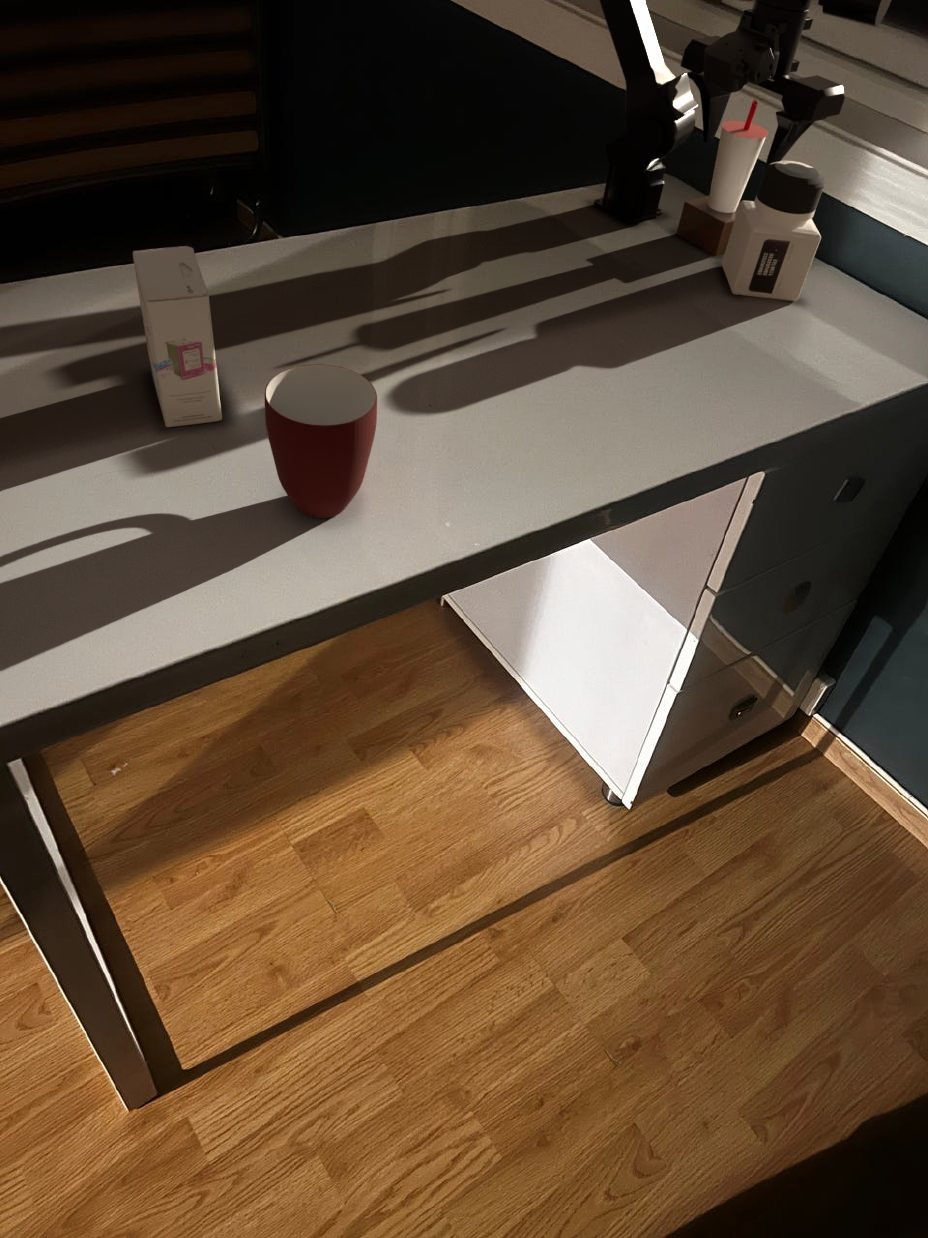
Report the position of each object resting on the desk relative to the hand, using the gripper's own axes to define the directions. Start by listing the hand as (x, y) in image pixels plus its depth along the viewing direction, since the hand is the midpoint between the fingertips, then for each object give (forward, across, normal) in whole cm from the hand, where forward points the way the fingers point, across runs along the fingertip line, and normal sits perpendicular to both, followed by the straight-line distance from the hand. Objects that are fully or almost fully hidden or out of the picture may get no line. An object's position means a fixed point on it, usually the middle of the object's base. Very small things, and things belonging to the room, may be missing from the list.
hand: (737, 156), depth 113 cm
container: (+10, +10, -4) cm, 15 cm away
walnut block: (+10, 0, 0) cm, 10 cm away
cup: (+6, 0, 0) cm, 6 cm away
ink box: (+10, 0, -71) cm, 72 cm away
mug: (+10, +17, -69) cm, 72 cm away
